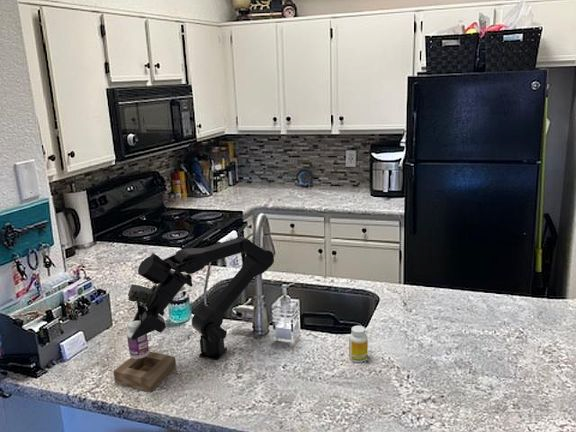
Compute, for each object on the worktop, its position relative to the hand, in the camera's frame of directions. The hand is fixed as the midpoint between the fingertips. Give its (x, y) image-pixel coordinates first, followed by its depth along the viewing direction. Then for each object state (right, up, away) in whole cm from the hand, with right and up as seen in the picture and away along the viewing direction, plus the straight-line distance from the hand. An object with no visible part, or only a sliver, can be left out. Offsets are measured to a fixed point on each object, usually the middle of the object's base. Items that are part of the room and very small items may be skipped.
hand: (131, 334), depth 145 cm
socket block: (+3, -13, +3) cm, 13 cm away
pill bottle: (+2, -6, +2) cm, 7 cm away
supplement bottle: (+64, -9, +8) cm, 65 cm away
